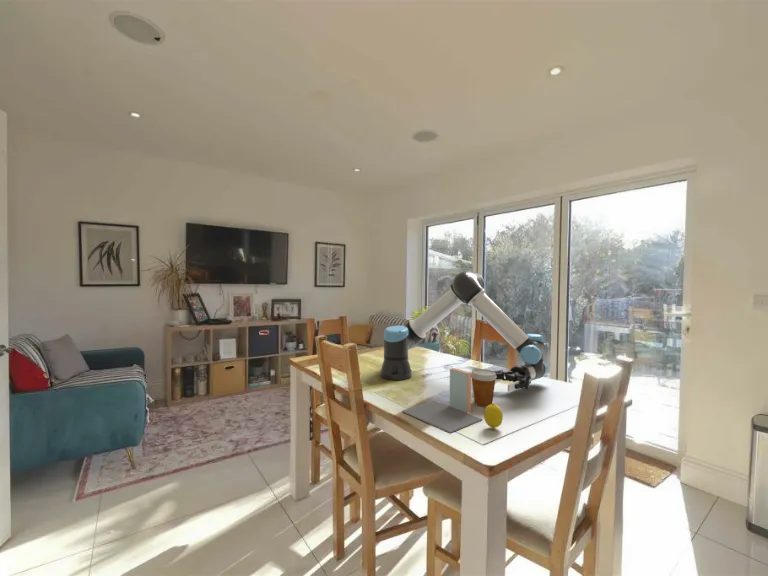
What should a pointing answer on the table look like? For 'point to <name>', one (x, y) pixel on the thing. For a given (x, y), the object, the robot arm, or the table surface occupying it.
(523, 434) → the table surface
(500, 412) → the lemon
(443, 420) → the mat
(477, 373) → the disposable coffee cup
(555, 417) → the table surface
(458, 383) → the tile
